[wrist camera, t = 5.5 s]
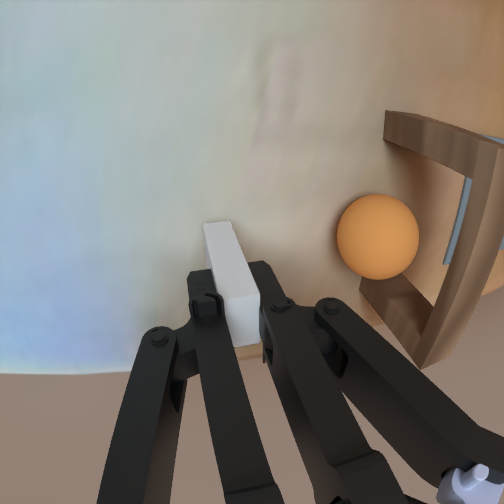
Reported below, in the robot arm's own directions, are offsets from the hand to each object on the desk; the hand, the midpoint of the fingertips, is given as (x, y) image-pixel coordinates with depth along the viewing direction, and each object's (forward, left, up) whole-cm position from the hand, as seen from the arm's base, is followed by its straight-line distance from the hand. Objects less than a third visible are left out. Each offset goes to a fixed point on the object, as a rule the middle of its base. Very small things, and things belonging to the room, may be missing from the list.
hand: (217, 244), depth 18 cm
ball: (+10, 0, +1) cm, 10 cm away
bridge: (+13, 0, -2) cm, 13 cm away
